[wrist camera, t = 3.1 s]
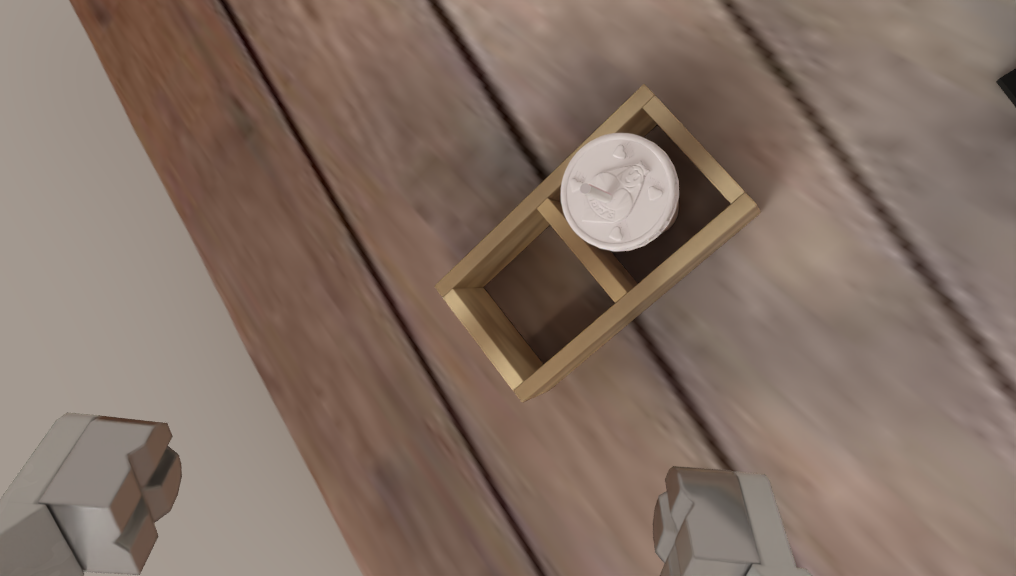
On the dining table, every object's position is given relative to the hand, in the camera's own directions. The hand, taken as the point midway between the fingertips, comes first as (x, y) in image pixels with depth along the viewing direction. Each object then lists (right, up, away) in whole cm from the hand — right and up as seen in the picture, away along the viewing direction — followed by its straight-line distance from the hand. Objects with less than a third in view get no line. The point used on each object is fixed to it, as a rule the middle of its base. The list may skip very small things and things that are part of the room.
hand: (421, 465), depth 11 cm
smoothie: (+11, +8, +35) cm, 38 cm away
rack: (+8, +5, +36) cm, 37 cm away
